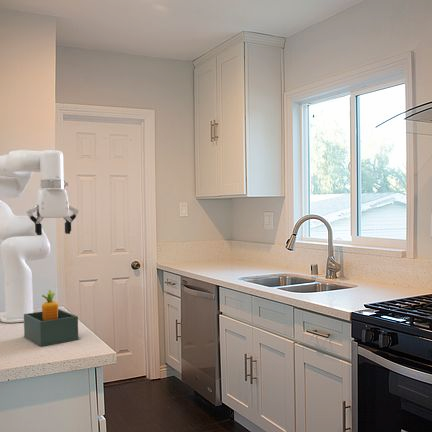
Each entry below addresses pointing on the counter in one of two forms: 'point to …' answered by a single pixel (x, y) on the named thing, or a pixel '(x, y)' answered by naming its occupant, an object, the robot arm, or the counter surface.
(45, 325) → the bin
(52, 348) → the counter surface
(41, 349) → the counter surface
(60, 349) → the counter surface
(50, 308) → the carrot
